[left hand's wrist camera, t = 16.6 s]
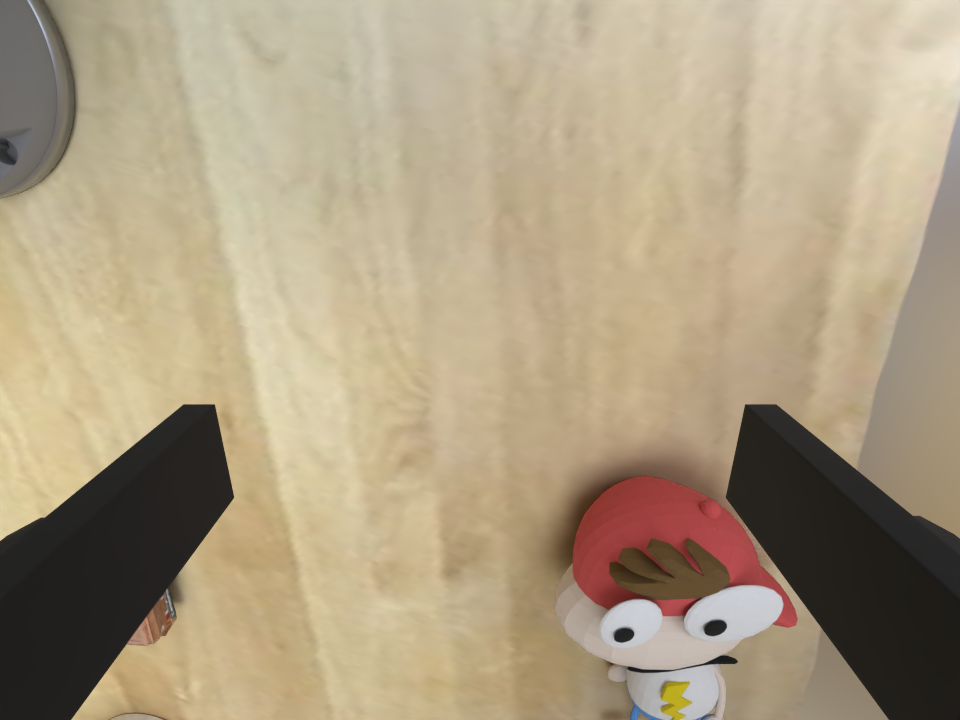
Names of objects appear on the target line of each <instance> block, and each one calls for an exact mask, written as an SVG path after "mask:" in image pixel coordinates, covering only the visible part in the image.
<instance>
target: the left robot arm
mask: <svg viewBox="0 0 960 720" xmlns="http://www.w3.org/2000/svg"><path fill="white" fill-rule="evenodd" d="M73 117H74V85H73V78H72V72H71V67H70V63H69V59H68V55H67V52H66V49H65V46H64V43H63V40H62V38H61V35H60V33H59V31H58V28H57V26H56V24H55V22H54V20H53V18H52V16H51V14H50V12H49V10H48V8H47V7H46V5H45V3H44V2H43V0H0V198H4V197H8V196H12V195H15V194H18V193H21V192H23V191H25V190H27V189H29V188H31V187H33V186H34V185H36V184H37V183H39V182H40V181H41V180H42V179H43V178H45V177H46V176H47V175H48V174H49V173H50V172H51V170H52V169H53V168H54V167H55V166H56V164H57V163H58V161H59V160H60V158H61V156H62V154H63V152H64V150H65V148H66V146H67V143H68V140H69V137H70V134H71V129H72V125H73ZM233 498H234V494H233V490H232V485H231V480H230V475H229V471H228V466H227V461H226V456H225V451H224V447H223V442H222V437H221V432H220V427H219V423H218V418H217V413H216V408H215V405H183V406H181V407H180V408H179V409H178V410H176V411H175V412H174V413H173V414H172V415H170V416H169V417H168V418H167V419H165V420H164V421H163V422H162V423H160V424H159V425H158V426H157V427H156V428H154V429H153V430H152V431H151V432H149V433H148V434H147V435H146V436H145V437H143V438H142V439H141V440H140V441H138V442H137V443H136V444H135V445H134V446H132V447H131V448H130V449H129V450H127V451H126V452H125V453H124V454H122V455H121V456H120V457H119V458H118V459H116V460H115V461H114V462H113V463H111V464H110V465H109V466H108V467H107V468H105V469H104V470H103V471H102V472H100V473H99V474H98V475H97V476H96V477H94V478H93V479H92V480H91V481H89V482H88V483H87V484H86V485H84V486H83V487H82V488H81V489H80V490H78V491H77V492H76V493H75V494H73V495H72V496H71V497H70V498H69V499H67V500H66V501H65V502H64V503H62V504H61V505H60V506H59V507H58V508H56V509H55V510H54V511H53V512H51V513H50V514H49V515H48V516H46V517H45V518H39V519H38V520H36V521H34V522H32V523H30V524H28V525H26V526H25V527H23V528H21V529H19V530H17V531H15V532H13V533H12V534H10V535H8V536H6V537H5V538H4V539H2V540H1V541H0V720H71V719H72V718H73V716H74V715H75V714H76V712H77V711H78V709H79V708H80V707H81V705H82V704H83V703H84V701H85V700H86V699H87V697H88V696H89V695H90V693H91V692H92V690H93V689H94V688H95V686H96V685H97V684H98V682H99V681H100V680H101V678H102V677H103V675H104V674H105V673H106V671H107V670H108V669H109V667H110V666H111V665H112V663H113V662H114V660H115V659H116V658H117V656H118V655H119V654H120V652H121V651H122V650H123V648H124V647H125V645H126V644H127V643H128V641H129V640H130V639H131V637H132V636H133V635H134V633H135V632H136V631H137V629H138V628H139V626H140V625H141V624H142V622H143V621H144V620H145V618H146V617H147V616H148V614H149V613H150V611H151V610H152V609H153V607H154V606H155V605H156V603H157V602H158V601H159V599H160V598H161V596H162V595H163V594H164V592H165V591H166V590H167V588H168V587H169V586H170V584H171V583H172V582H173V580H174V579H175V577H176V576H177V575H178V573H179V572H180V571H181V569H182V568H183V567H184V565H185V564H186V562H187V561H188V560H189V558H190V557H191V556H192V554H193V553H194V552H195V550H196V549H197V547H198V546H199V545H200V543H201V542H202V541H203V539H204V538H205V537H206V535H207V534H208V532H209V531H210V530H211V528H212V527H213V526H214V524H215V523H216V522H217V520H218V519H219V518H220V516H221V515H222V513H223V512H224V511H225V509H226V508H227V507H228V505H229V504H230V503H231V501H232V500H233ZM726 498H727V500H728V501H729V503H730V504H731V505H732V507H733V508H734V509H735V511H736V512H737V513H738V515H739V516H740V518H741V519H742V520H743V522H744V523H745V524H746V526H747V527H748V528H749V530H750V531H751V532H752V534H753V535H754V537H755V538H756V539H757V541H758V542H759V543H760V545H761V546H762V547H763V549H764V550H765V552H766V553H767V554H768V556H769V557H770V558H771V560H772V561H773V562H774V564H775V565H776V567H777V568H778V569H779V571H780V572H781V573H782V575H783V576H784V577H785V579H786V580H787V582H788V583H789V584H790V586H791V587H792V588H793V590H794V591H795V592H796V594H797V595H798V596H799V598H800V599H801V601H802V602H803V603H804V605H805V606H806V607H807V609H808V610H809V611H810V613H811V614H812V616H813V617H814V618H815V620H816V621H817V622H818V624H819V625H820V626H821V628H822V629H823V631H824V632H825V633H826V635H827V636H828V637H829V639H830V640H831V641H832V643H833V644H834V645H835V647H836V648H837V650H838V651H839V652H840V654H841V655H842V656H843V658H844V659H845V660H846V662H847V663H848V665H849V666H850V667H851V669H852V670H853V671H854V673H855V674H856V675H857V677H858V678H859V680H860V681H861V682H862V684H863V685H864V686H865V688H866V689H867V690H868V692H869V693H870V694H871V696H872V697H873V699H874V700H875V701H876V703H877V704H878V705H879V707H880V708H881V709H882V711H883V712H884V714H885V715H886V716H887V718H888V719H889V720H960V539H959V538H958V537H957V536H956V535H954V534H953V533H951V532H949V531H947V530H945V529H943V528H941V527H939V526H938V525H936V524H934V523H932V522H930V521H928V520H926V519H925V518H923V517H921V516H912V515H911V514H910V513H909V512H907V511H906V510H905V509H904V508H902V507H901V506H900V505H899V504H898V503H896V502H895V501H894V500H893V499H891V498H890V497H889V496H888V495H886V494H885V493H884V492H883V491H882V490H880V489H879V488H878V487H877V486H876V485H874V484H873V483H872V482H871V481H869V480H868V479H867V478H866V477H864V476H863V475H862V474H861V473H860V472H858V471H857V470H856V469H855V468H853V467H852V466H851V465H850V464H849V463H847V462H846V461H845V460H844V459H842V458H841V457H840V456H839V455H838V454H836V453H835V452H834V451H833V450H831V449H830V448H829V447H828V446H826V445H825V444H824V443H823V442H822V441H820V440H819V439H818V438H817V437H815V436H814V435H813V434H812V433H811V432H809V431H808V430H807V429H806V428H804V427H803V426H802V425H801V424H800V423H798V422H797V421H796V420H795V419H793V418H792V417H791V416H790V415H788V414H787V413H786V412H785V411H784V410H782V409H781V408H780V407H779V406H777V405H745V408H744V413H743V418H742V423H741V427H740V432H739V437H738V442H737V447H736V451H735V456H734V461H733V466H732V471H731V475H730V480H729V485H728V490H727V494H726Z"/></svg>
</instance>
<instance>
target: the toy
mask: <svg viewBox="0 0 960 720" xmlns="http://www.w3.org/2000/svg"><path fill="white" fill-rule="evenodd" d="M555 613H556V615H557V617H558V619H559V621H560V623H561V625H562V626H563V628H564V630H565V632H566V634H567V635H568V636H569V637H570V638H571V639H573V640H574V641H575V642H576V643H577V644H579V645H580V646H581V647H582V648H584V649H585V650H586V651H587V652H589V653H591V654H593V655H595V656H597V657H600V658H602V659H604V660H607V661H609V662H611V663H614V664H613V665H612V666H610V667H609V669H608V671H607V675H608V677H609V679H610V680H612V681H615V682H622V681H625V680H627V687H628V691H629V694H630V697H631V699H632V702H633V704H634V706H633V709H632V712H631V716H630V720H637V719H638V715H639V711H640V712H641V713H642V714H643V715H644V716H646V717H648V718H650V719H652V720H699V719H701V718H702V717H703V718H702V719H701V720H724V718H723V717H722V716H723V712H724V708H725V702H726V685H725V680H724V678H723V676H722V674H721V670H720V666H719V664H735V663H737V662H738V661H737V660H736V659H735V658H732V657H729V656H721V655H723V654H725V653H727V652H729V651H730V650H732V649H733V648H734V647H735V646H736V645H737V644H738V643H739V642H740V641H741V640H742V639H743V638H746V637H750V636H753V635H755V634H757V633H759V632H761V631H762V630H764V629H766V628H768V627H769V626H770V625H771V624H774V625H777V626H783V627H788V628H789V627H792V626H795V625H796V622H797V615H796V612H795V608H794V606H793V604H792V603H791V601H790V599H789V597H788V595H787V594H786V593H785V591H784V590H783V588H782V587H781V586H780V584H779V583H778V582H777V581H776V580H775V579H774V578H773V577H772V576H771V575H770V574H769V573H768V572H767V571H766V570H765V569H764V568H763V567H761V566H760V563H759V560H758V556H757V553H756V551H755V548H754V546H753V544H752V542H751V540H750V538H749V537H748V535H747V533H746V532H745V530H744V528H743V527H742V526H741V524H740V523H739V522H738V521H737V520H736V519H735V518H734V517H733V516H732V515H731V514H730V513H729V512H728V511H727V510H726V509H725V508H723V507H722V506H720V505H719V504H718V503H717V502H716V501H715V500H712V499H710V498H708V497H706V496H704V495H702V494H700V493H698V492H696V491H694V490H692V489H689V488H687V487H685V486H682V485H679V484H676V483H673V482H670V481H668V480H665V479H661V478H655V477H650V476H641V477H632V478H630V479H627V480H624V481H622V482H620V483H617V484H615V485H614V486H612V487H611V488H609V489H608V490H606V491H605V492H604V493H603V494H602V495H601V496H600V497H599V498H598V499H596V500H595V502H594V503H593V504H592V505H591V506H590V508H589V509H588V510H587V512H586V513H585V515H584V516H583V518H582V521H581V523H580V525H579V528H578V530H577V533H576V537H575V543H574V549H573V563H572V564H571V565H570V567H569V568H568V569H567V571H566V572H565V574H564V575H563V577H562V578H561V580H560V581H559V582H558V584H557V587H556V593H555ZM716 704H717V705H716ZM715 706H716V710H715V714H710V715H707V714H708V713H709V712H710V711H711V710H712V709H713V708H714V707H715ZM706 715H707V716H706ZM704 716H705V717H704Z"/></svg>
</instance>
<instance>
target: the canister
mask: <svg viewBox="0 0 960 720" xmlns="http://www.w3.org/2000/svg"><path fill="white" fill-rule="evenodd" d="M110 720H164V719H161V718H158V717H155V716H151V715H146V714H124V715H119V716H116V717H114V718H112V719H110Z"/></svg>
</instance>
